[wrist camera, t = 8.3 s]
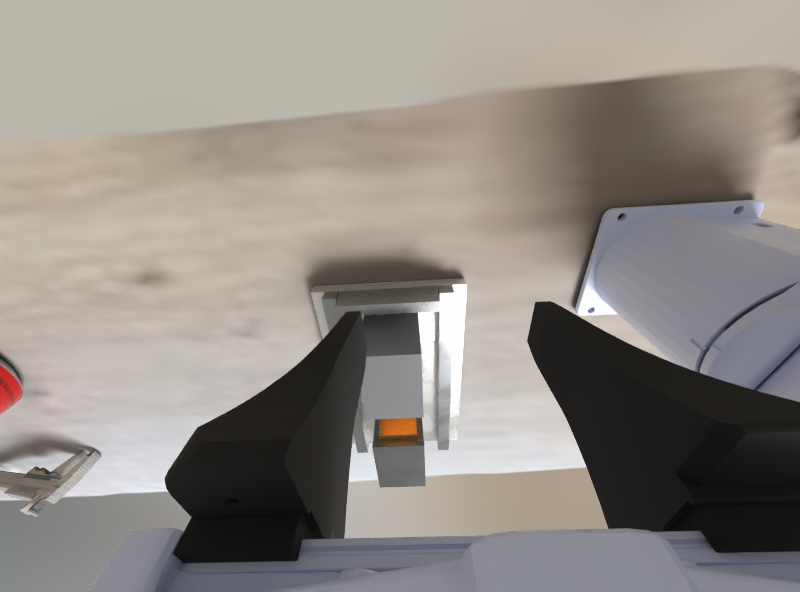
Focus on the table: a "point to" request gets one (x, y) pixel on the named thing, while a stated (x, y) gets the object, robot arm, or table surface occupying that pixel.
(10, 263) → the table surface
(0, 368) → the soda can
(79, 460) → the caliper
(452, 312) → the rail
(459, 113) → the table surface
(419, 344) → the block
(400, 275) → the table surface
